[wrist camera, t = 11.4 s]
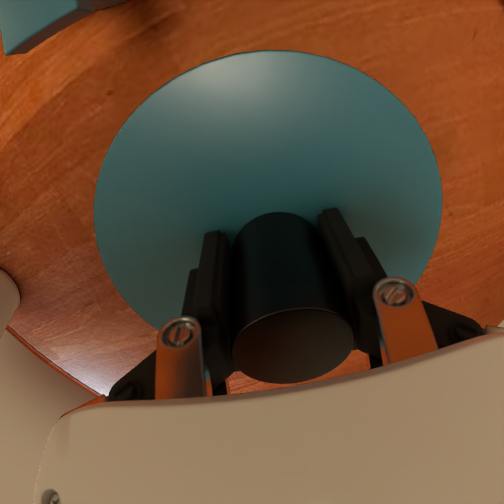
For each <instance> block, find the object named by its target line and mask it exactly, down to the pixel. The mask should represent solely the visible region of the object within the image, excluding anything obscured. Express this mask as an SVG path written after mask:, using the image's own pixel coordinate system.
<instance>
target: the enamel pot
mask: <svg viewBox="0 0 504 504" xmlns="http://www.w3.org/2000/svg"><path fill="white" fill-rule="evenodd" d="M125 1H128V0H0V31H1V37H2V43H3V48H4V54H5V55H6V56H7V55H15V54H24V53H27V52H28V51H30V50H31V49H33V48H34V47H36V46H37V45H39V44H40V43H42V42H43V41H45V40H46V39H48V38H49V37H51V36H53V35H54V34H56V33H58V32H59V31H61V30H63V29H64V28H66V27H68V26H70V25H71V24H73V23H75V22H77V21H79V20H81V19H82V18H84V17H86V16H88V15H90V14H92V13H94V11H95V10H100V9H103V8H107V7H110V6H114V5H117V4H120V3H122V2H125Z"/></svg>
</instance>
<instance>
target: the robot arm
mask: <svg viewBox="0 0 504 504" xmlns="http://www.w3.org/2000/svg"><path fill="white" fill-rule="evenodd" d="M318 225H319V234H320V240H321V242H322V245H323V247H324V250H325V252H326V255H327V257H328V260H329V262H330V265H331V268H332V270H333V273H334V275H335V278H336V281H337V283H338V286H339V289H340V291H341V294H342V297H343V300H344V302H345V305H346V308H347V311H348V314H349V316H350V319H351V322H352V325H353V328H354V331H355V343H354V346H353V349H352V350H357V349H358V350H360V351H362V352H365V353H366V360H367V366H368V370H366V371H362V372H358V373H354V374H349V375H345V376H340V377H336V378H331V379H327V380H322V381H317V382H311V383H306V384H301V385H295V386H289V387H283V388H276V389H270V390H263V391H255V392H247V393H239V394H230V387H229V381H228V377H229V376H230V375H231V374H232V373H233V372H236V371H240V370H239V369H238V368H237V367H236V366H235V364H234V363H233V361H232V358H231V353H230V340H231V290H232V252H231V249H230V245H229V242H228V239H227V235H226V233H221V232H220V231H219V230H216V231H212V232H207V233H205V234H204V239H203V245H202V250H201V256H200V262H199V268H196V269H191V270H190V272H189V276H188V282H187V287H186V292H185V297H184V302H183V308H182V313H181V316H178V317H175V318H173V319H171V320H169V321H168V322H166V323H165V324H164V325H163V326H162V327H161V329H160V331H159V332H158V336H157V350H155V351H154V352H153V353H152V354H150V355H149V356H148V357H147V358H146V359H144V360H143V361H142V362H141V363H139V364H138V365H137V366H136V367H135V368H133V369H132V370H131V371H130V372H128V373H127V374H126V375H125V376H124V377H122V378H121V379H120V380H119V381H117V382H116V383H115V384H114V385H113V387H112V388H111V390H110V392H109V396H107V397H106V396H105V395H104V394H103V395H101V396H99V397H97V398H95V399H93V400H91V401H89V402H87V403H85V404H83V405H81V406H79V407H77V408H75V409H73V410H71V411H69V412H67V413H65V414H64V415H62V416H61V417H60V419H59V420H58V421H57V422H56V424H55V425H54V427H53V429H52V431H51V433H50V435H49V437H48V440H47V443H46V446H45V448H44V452H43V455H42V459H41V463H40V467H39V471H38V476H37V481H36V487H35V493H34V500H33V504H504V328H503V327H495V326H488V325H486V326H485V329H484V328H481V326H480V325H479V324H478V323H477V322H476V321H474V320H473V319H471V318H468V317H466V316H463V315H460V314H457V313H455V312H452V311H449V310H447V309H444V308H441V307H438V306H436V305H433V304H430V303H427V302H425V301H422V300H421V299H420V296H419V293H418V291H417V289H416V287H415V286H414V284H412V283H411V282H410V281H409V280H406V279H404V278H401V277H388V276H387V274H386V272H385V271H384V269H383V267H382V265H381V264H380V262H379V260H378V258H377V257H376V255H375V253H374V252H373V250H372V248H371V247H370V245H369V243H368V242H367V240H366V238H365V237H357V238H355V237H354V236H353V234H352V232H351V230H350V229H349V227H348V225H347V223H346V222H345V220H344V218H343V217H342V215H341V213H340V212H339V210H338V208H337V207H335V208H329V209H324V210H322V214H318Z"/></svg>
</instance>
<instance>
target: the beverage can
mask: <svg viewBox="0 0 504 504" xmlns="http://www.w3.org/2000/svg"><path fill="white" fill-rule="evenodd" d="M19 304H20V295H19V291H18V288H17V286H16V284H15V283H14V281H13V280H12V278H11V277H10V276H9V275H8V274H7V273H5V272H4V271H2V270H1V269H0V337H1V336H2V334H3V332H4V330H5V328H6V326H7V325H8V323H9V321H10V320H11V318H12V316H13V314H14V313H15V311H16V309H17V308H18V306H19Z"/></svg>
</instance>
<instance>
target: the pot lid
mask: <svg viewBox="0 0 504 504" xmlns="http://www.w3.org/2000/svg"><path fill="white" fill-rule="evenodd" d="M335 207H337V208H338V210H339V212H340V213H341V215H342V217H343V218H344V220H345V222H346V223H347V225H348V227H349V229H350V230H351V232H352V234H353V236H354V237H355V238H357V237H365V238H366V240H367V242H368V243H369V245H370V247H371V248H372V250H373V252H374V253H375V255H376V257H377V258H378V260H379V262H380V264H381V265H382V267H383V269H384V271H385V272H386V274H387V276H388V277H401V278H404V279H406V280H409V281H410V282H411V283H412V284H414V286H415V284H416V283H417V281H418V280H419V278H420V277H421V275H422V273H423V272H424V270H425V268H426V266H427V264H428V262H429V260H430V257H431V255H432V253H433V250H434V247H435V244H436V241H437V238H438V233H439V228H440V223H441V216H442V188H441V178H440V174H439V170H438V166H437V162H436V158H435V155H434V153H433V150H432V148H431V146H430V143H429V141H428V139H427V137H426V135H425V133H424V132H423V130H422V128H421V127H420V125H419V123H418V122H417V120H416V119H415V117H414V116H413V115H412V114H411V112H410V111H409V110H408V109H407V108H406V107H405V105H404V104H403V103H402V102H401V101H400V100H399V99H398V98H397V97H396V96H395V95H394V94H393V93H391V92H390V91H389V90H388V89H387V88H385V87H384V86H383V85H382V84H380V83H379V82H378V81H376V80H375V79H373V78H371V77H370V76H368V75H366V74H365V73H363V72H361V71H359V70H358V69H356V68H354V67H351V66H349V65H346V64H344V63H341V62H339V61H336V60H333V59H331V58H328V57H324V56H319V55H315V54H310V53H305V52H299V51H287V50H260V51H252V52H244V53H237V54H232V55H228V56H225V57H222V58H218V59H215V60H212V61H208V62H205V63H203V64H201V65H198V66H196V67H194V68H192V69H190V70H188V71H186V72H184V73H182V74H180V75H178V76H176V77H175V78H173V79H172V80H170V81H169V82H167V83H166V84H165V85H163V86H162V87H160V88H159V89H158V90H156V91H155V92H153V93H152V94H151V95H150V96H149V97H148V98H147V99H146V100H145V101H144V102H143V103H142V104H141V105H140V106H139V107H138V108H137V109H136V110H135V111H134V112H133V113H132V114H131V115H130V116H129V118H128V119H127V120H126V122H125V123H124V125H123V126H122V127H121V129H120V130H119V132H118V133H117V134H116V136H115V138H114V140H113V142H112V144H111V146H110V147H109V150H108V152H107V154H106V156H105V158H104V160H103V163H102V167H101V170H100V173H99V176H98V180H97V184H96V191H95V198H94V229H95V235H96V241H97V246H98V249H99V252H100V255H101V259H102V262H103V265H104V267H105V269H106V271H107V273H108V275H109V277H110V279H111V281H112V283H113V284H114V286H115V287H116V289H117V290H118V292H119V293H120V295H121V296H122V297H123V299H124V300H125V301H126V302H127V303H128V304H129V306H130V307H131V308H132V309H133V310H134V311H135V312H136V313H137V314H138V315H139V316H140V317H141V318H143V319H144V320H145V321H146V322H147V323H148V324H150V325H151V326H152V327H154V328H155V329H157V330H158V331H160V329H161V327H162V326H163V325H164V324H165V323H166V322H168V321H169V320H171V319H173V318H175V317H178V316H181V313H182V308H183V302H184V297H185V292H186V287H187V282H188V276H189V272H190V270H191V269H196V268H199V262H200V256H201V250H202V245H203V239H204V234H205V233H207V232H212V231H216V230H219V231H220V232H221V233H226V235H227V239H228V242H229V245H230V249H231V252H232V290H231V340H230V353H231V358H232V361H233V363H234V364H235V366H236V367H237V368H238V369H239V370H240V371H241V372H242V373H243V374H245V375H247V376H249V377H251V378H253V379H256V380H258V381H262V382H267V383H276V384H289V383H298V382H303V381H307V380H311V379H314V378H317V377H319V376H322V375H324V374H326V373H328V372H330V371H331V370H333V369H335V368H336V367H337V366H339V365H340V364H341V363H342V362H343V361H344V360H345V359H346V358H347V357H348V356H349V354H350V353H351V351H352V349H353V346H354V343H355V331H354V328H353V325H352V322H351V319H350V316H349V314H348V311H347V308H346V305H345V302H344V300H343V297H342V294H341V291H340V289H339V286H338V283H337V281H336V278H335V275H334V273H333V270H332V268H331V265H330V262H329V260H328V257H327V255H326V252H325V250H324V247H323V245H322V242H321V240H320V234H319V225H318V214H322V210H324V209H329V208H335Z"/></svg>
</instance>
